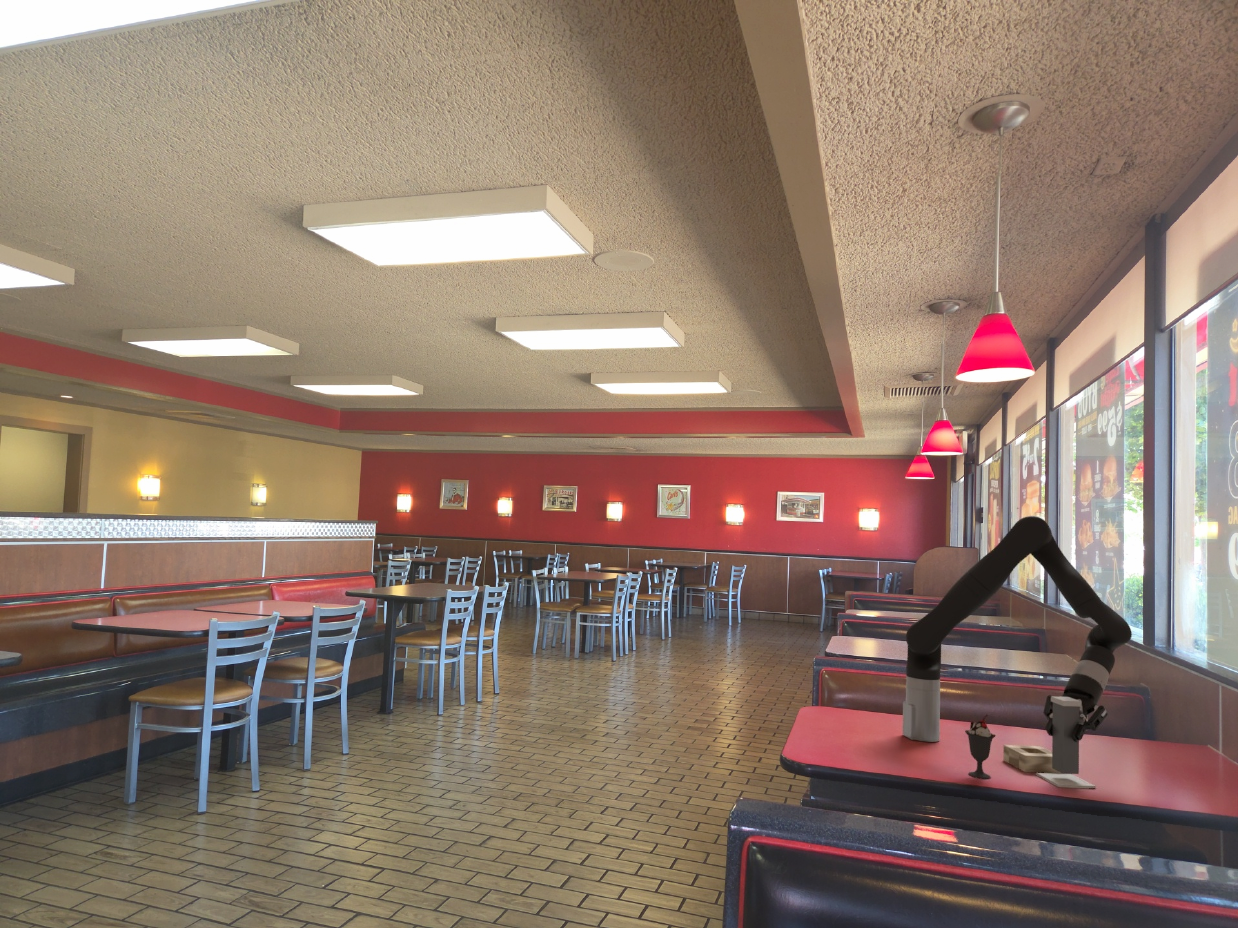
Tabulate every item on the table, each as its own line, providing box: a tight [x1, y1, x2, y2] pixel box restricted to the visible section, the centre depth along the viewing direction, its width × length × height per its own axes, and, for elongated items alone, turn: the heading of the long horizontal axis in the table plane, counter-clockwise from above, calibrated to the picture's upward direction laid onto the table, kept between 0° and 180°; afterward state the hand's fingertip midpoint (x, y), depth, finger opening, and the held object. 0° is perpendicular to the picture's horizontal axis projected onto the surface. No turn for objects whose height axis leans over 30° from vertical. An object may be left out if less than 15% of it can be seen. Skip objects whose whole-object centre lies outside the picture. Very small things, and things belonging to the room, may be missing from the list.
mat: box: [1035, 772, 1097, 789], centre depth 186 cm, size 9×9×1 cm
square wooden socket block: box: [1003, 744, 1063, 774], centre depth 198 cm, size 10×10×4 cm
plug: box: [1051, 695, 1081, 775], centre depth 187 cm, size 5×5×17 cm
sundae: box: [964, 714, 997, 780], centre depth 188 cm, size 7×7×15 cm
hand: (1061, 736), depth 186 cm, fingers closed on plug, 5 cm apart
